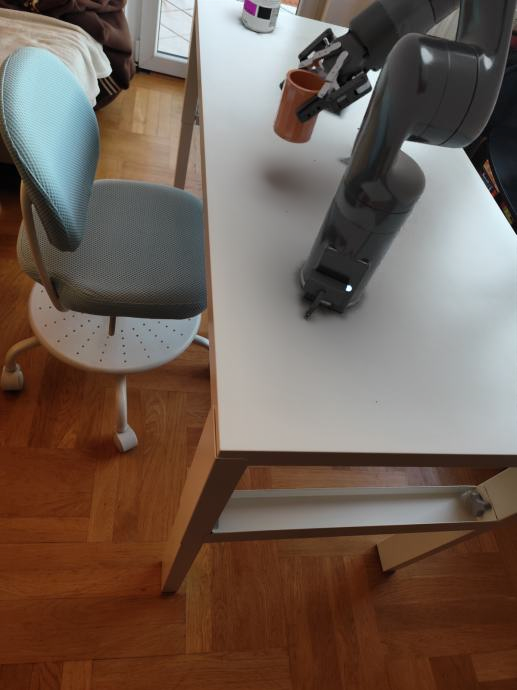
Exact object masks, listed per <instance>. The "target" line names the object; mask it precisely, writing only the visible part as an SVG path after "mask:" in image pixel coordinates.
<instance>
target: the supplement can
mask: <svg viewBox="0 0 517 690" xmlns="http://www.w3.org/2000/svg"><path fill="white" fill-rule="evenodd" d="M281 5H282V0H244V1H243V6H242V12H241V21H242V22H243V25H244V26H245V27H246V28H248V29H249V30H251V31H253V32H256V33H262V34H266V33H267V34H268V33H271V32H272V31H274V30H275V29H276V25H277V21H278V17H279V12H280V9H281Z"/></svg>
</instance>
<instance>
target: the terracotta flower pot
mask: <svg viewBox="0 0 517 690" xmlns="http://www.w3.org/2000/svg"><path fill="white" fill-rule="evenodd" d="M284 79H285V81H284V85H283V89H282V91H281V92H280V98H279V100H278V104H277V108H276V112H275V116H274V119H273V124H272V129H273V132H274V134H275V135H277V137H279V138H280V139H282V140H284V141H286V142H289V143H292V144H306V143H308V142H310V141H311V139H312V137H313V134H314V132H315V129H316V125H317V123H318V120H319V117H320V113H321V112H319V113H318V114H317V115H316V116H314V117H313V118H312V119H310V120H309V121H307V122H305V123H301V122H300V121H299V119H298V117H297V116H296V114H295V110H296V109H297V108H299V107H300V106H301V105H302V104H304V103H305V102H306V101H308V100H309V99H310V98H311V97H313V96H314V95H315V94H316V95H317V97H318V93H319V91H320V90H321V89H322V87H323V86H324V84H325V82H326V81H325V80H324V79H323V78H322V77H321V76H319V75H318V74H316V73H313V72H311V71H307V70H303V69H298V68H293V69H290V70H288V71H287V73H286V74H285V78H284Z"/></svg>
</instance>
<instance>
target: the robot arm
mask: <svg viewBox="0 0 517 690" xmlns="http://www.w3.org/2000/svg"><path fill="white" fill-rule="evenodd" d="M456 10H459V11H458V18H457V26H456V31H455V38H454V39H450V38H446V37H441V36H437V35H432V34H428V32H429V31H431V30H432V29H433V28H434V27H436V25H438V24H439V23H441V22H442V21H444V20H445V19H446V18H447V17H448V16H450V15H451V14H453V13H454V12H455V11H456ZM516 13H517V0H374V1H372V2H371V3H370V4H369V5H367V7H364V9H362V10H361V11H360V12H359V13H358V14H356V15H355V16H354V17H353V18H352V19H350V20H349V22H348V30H347V32H345V33H344V34H342V35H341V36H336V35H335V33H334V32H333V30H332V27H328V28H326V29H325V30H324V31H322V32H321V33H320V35H318V36H317V37H316V38H315V39H314V40H313V41H312V42H311V43H310V44H308V45H307V46H306V47H305V48H304V49H303V50H302V51H301V52H299V54H298V55H297V59H298V60H299V64H298V68H297V69H303V70H307V71H311V72H313V73H316V74H318V75H319V76H321V77H326V76H327V77H326V80H325V81H326V82H325V84H324V86H323V87H322V89H321V90H320V91H319V93H318V97H317V95H316V94H315V95H314V96H313V97H311V98H310V99H309V100H308V101H306V102H305V103H304V104H302V105H301V106H300V107H299V108H297V109H296V110H295V114H296V116H297V117H298V119H299V121H300V122H301V123H305V122H307V121H309V120H310V119H312V118H313V117H314V116H316V115H317V114H318V113H319V112H320V113H321V112H322V111H323V110H324V109H330V110H332V111H333V113H332V114H334V113H335V114H334V115H336V113H338V112H340V111H342V112H343V110H344V109H346V108H348V107H350V106H351V105H352V104H354V103H356V102H358V101H359V100H360V99H362V98H364V97H365V96H366V95H368V94H370V93H371V92H372V93H371V96H370V99H369V101H368V104H367V107H366V109H365V112H364V115H363V118H362V120H361V123H360V126H359V127H358V128H359V130H358V129H357V133H356V135H355V138H354V141H353V145H352V149H351V152H350V155H349V157H350V159H349V162H348V164H346V166H345V167H346V168H345V170H344V172H343V175H342V176H341V179H340V181H339V183H338V186H337V189H336V191H335V193H334V195H333V197H332V200H331V202H330V204H329V206H328V209H327V211H326V213H325V216H324V219H323V220H322V222H321V225H320V228H319V230H318V232H317V235H316V237H315V239H314V241H313V244H312V247H311V248H310V251H309V253H308V256H307V258H306V261H305V262H304V264H303V266H302V268H301V271H300V274H299V275H300V276H299V281H300V285H301V287H302V291H303V294H302V296H303V297H304V298H306V299H308V300H310V301H312V302H313V303H312V304H311V306H310V307H309V308H308V309H307V310H306V311H305V313H304V314H305V316H306V317H311V315H312V314H313V313H314V312H315V311H316V309H317V308H318V307H319V305H322V306H324V307H327V308H329V309H331V310H333V311H336V312H338V313H341V314H344V312H345V311H346V310H347V309H349V308H351V307H353V306H356V304H357V303H358V302H359V300H360V299H361V298H362V296H363V293H364V291H365V289H366V288H367V286H368V285H369V283H370V282H371V280H372V277H374V275H375V273H376V271H377V269H378V268H379V266H380V265H381V263H382V261H383V260H384V258H385V256H386V255H387V253H388V252H389V250H390V248H391V246H392V245H393V243H394V241H395V240H396V238H397V237H398V235H399V233H400V232H401V230H402V229H403V227H404V225H405V223H406V222H407V220H408V219H409V216H410V215H411V213H412V212H413V210H414V208H415V207H416V205H417V204H418V202H419V200H420V199H421V197H422V195H423V194H424V192H425V189H426V184H427V179H426V175H425V172H424V171H423V169H422V168H421V166H420V165H419V164H418V162H417V161H416V160H414V159H413V157H412V156H410V155H409V154H408V153H406V152H405V151H404V150H402V149H401V148H402V147H403V144H404V143H405V142H410V143H416V144H422V145H428V146H436V147H440V148H447V149H462V148H466V147H468V146H469V145H470V144H472V143H473V142H474V141H475V140H476V139H478V137H479V136H480V135H481V134H482V132H483V131H484V129H485V127H486V126H487V124H488V122H489V120H490V118H491V116H492V114H493V111H494V109H495V106H496V103H497V100H498V97H499V93H500V91H501V87H502V83H503V79H504V75H505V71H506V66H507V60H508V56H509V55H508V54H509V50H510V45H511V41H512V40H511V39H512V33H513V29H514V23H515V17H516ZM313 52H314V53H313ZM310 55H312V56H311V57H309V56H310ZM313 67H314V68H313ZM311 68H312V69H313V70H311ZM370 71H372V72H374V73H377V72H379V73H378V76H377V78H376V81H375V84H374V87H373V86H372V84H371V81H370V79H369V76H368V73H369V72H370ZM284 81H285V78H284V79H283V81H281V82H280V83H279V85H278V86H279V89H280V91H281V92H282V89H283V85H284ZM330 90H331V93H330V94H328V93H329V92H330ZM344 95H346V98H345V99H343V100H341V101H340V102H338V101H337V100H338V99H339V98H341V97H342V96H344ZM324 111H325V110H324ZM320 113H319V114H320ZM400 149H401V150H400ZM308 314H309V315H308Z"/></svg>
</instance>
